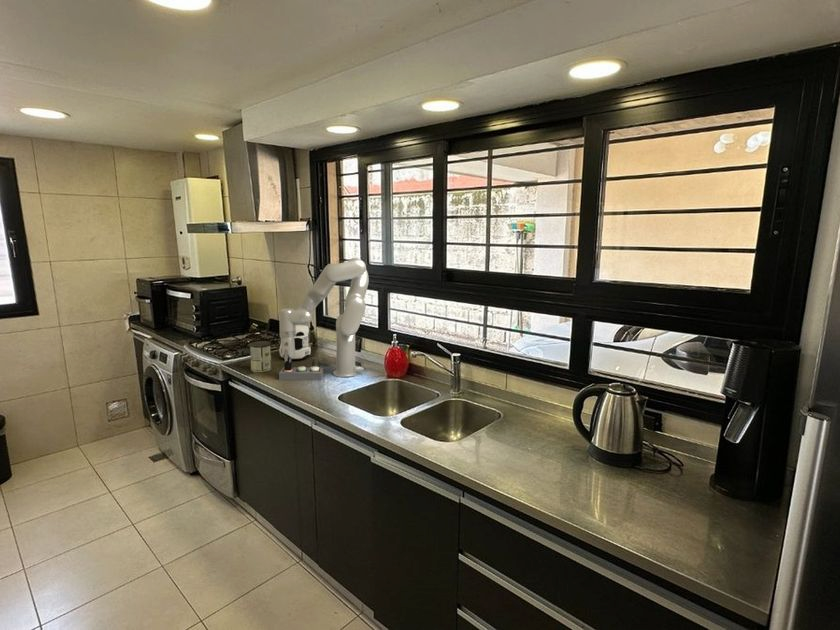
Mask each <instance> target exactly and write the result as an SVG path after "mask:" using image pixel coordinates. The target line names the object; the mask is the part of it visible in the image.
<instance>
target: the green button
mask: <svg viewBox="0 0 840 630" xmlns="http://www.w3.org/2000/svg"><path fill="white" fill-rule="evenodd" d="M296 367H297V366H296ZM297 371H298V372H306V366H304V365H302V366H301V365H300V366H298V367H297Z"/></svg>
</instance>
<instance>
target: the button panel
mask: <svg viewBox="0 0 840 630" xmlns="http://www.w3.org/2000/svg"><path fill="white" fill-rule="evenodd" d="M305 367H306V366H305ZM311 367H312V366H310V367H306V372H298V371H297V366H295V367H293V366H292V372H284V370H285V366H283V367H281V369H280V371H279V372H278V381H322V379H323V376H324V367H319V366H318V367H319V372H311Z"/></svg>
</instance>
